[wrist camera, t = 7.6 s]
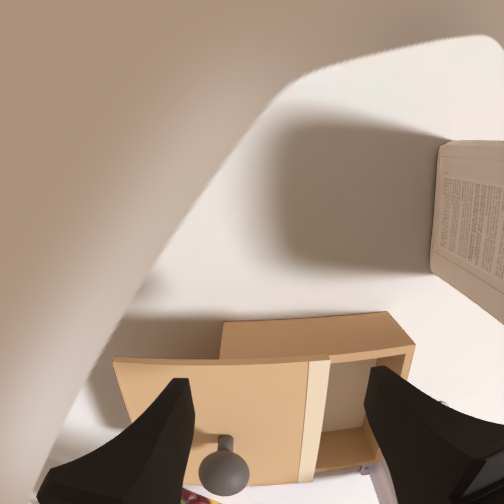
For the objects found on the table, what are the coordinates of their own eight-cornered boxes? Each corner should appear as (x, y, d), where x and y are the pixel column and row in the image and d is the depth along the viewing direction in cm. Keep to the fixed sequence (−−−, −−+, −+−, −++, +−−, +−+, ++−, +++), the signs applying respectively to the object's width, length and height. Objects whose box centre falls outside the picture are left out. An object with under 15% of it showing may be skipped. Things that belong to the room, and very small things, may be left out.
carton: (364, 424, 26) (379, 462, 21) (234, 436, 25) (233, 478, 21) (387, 311, 22) (415, 344, 18) (223, 321, 22) (218, 361, 18)
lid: (311, 475, 21) (320, 526, 16) (156, 476, 21) (145, 524, 16) (328, 353, 17) (352, 413, 13) (115, 356, 17) (83, 411, 12)
